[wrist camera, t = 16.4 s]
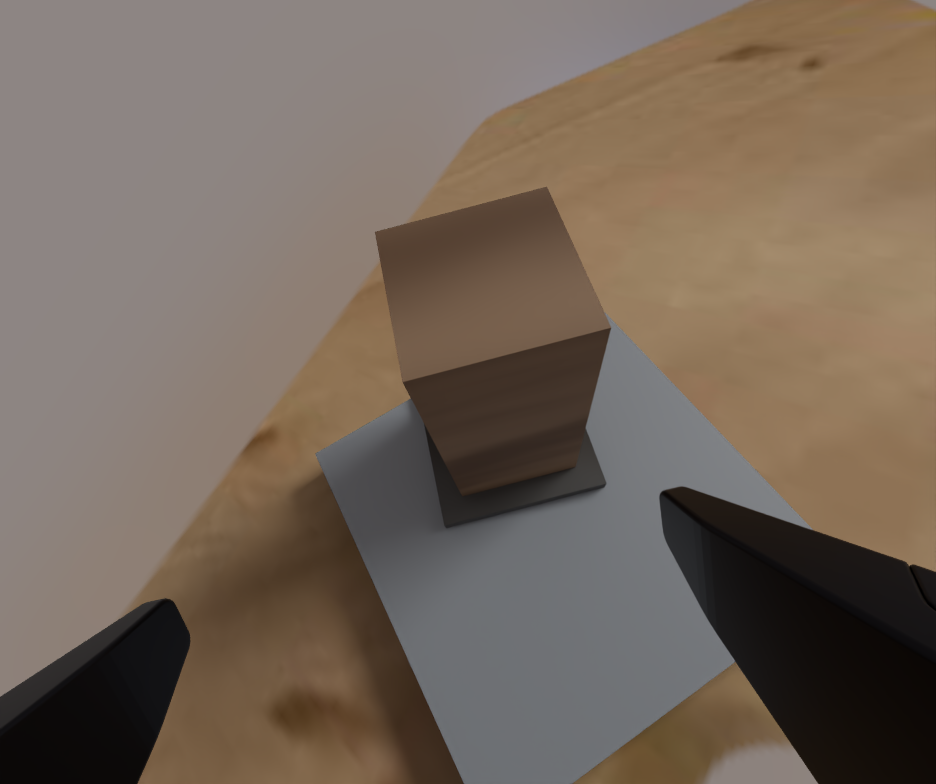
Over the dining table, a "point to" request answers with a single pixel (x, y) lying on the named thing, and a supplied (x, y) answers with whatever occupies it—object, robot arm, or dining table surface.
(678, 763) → the dining table surface
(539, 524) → the slate board
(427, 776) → the dining table surface
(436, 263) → the walnut peg
